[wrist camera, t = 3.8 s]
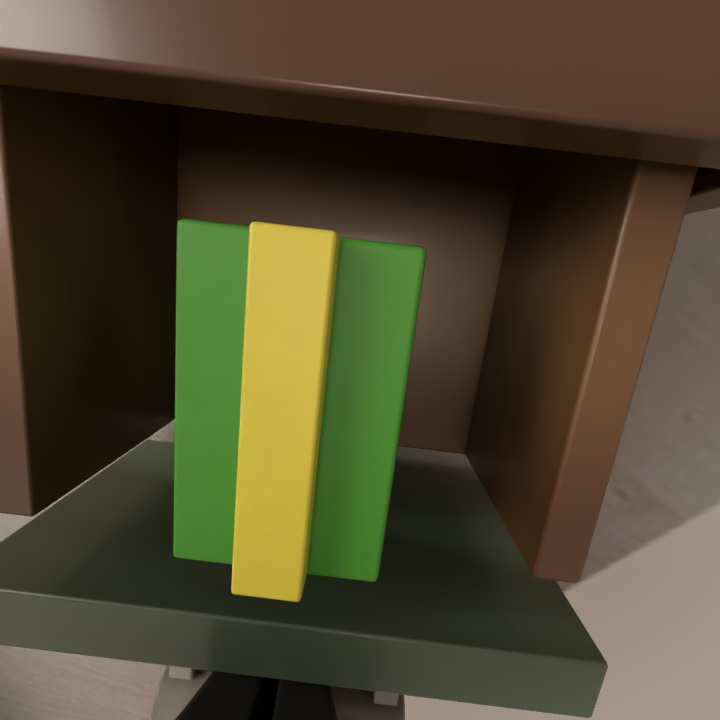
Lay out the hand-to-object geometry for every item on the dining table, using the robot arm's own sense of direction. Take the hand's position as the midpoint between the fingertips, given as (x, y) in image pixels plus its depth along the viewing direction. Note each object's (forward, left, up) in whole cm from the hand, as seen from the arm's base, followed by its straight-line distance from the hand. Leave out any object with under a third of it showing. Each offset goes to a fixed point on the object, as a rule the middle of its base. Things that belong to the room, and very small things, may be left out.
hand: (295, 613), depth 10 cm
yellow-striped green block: (+6, -4, -2) cm, 7 cm away
